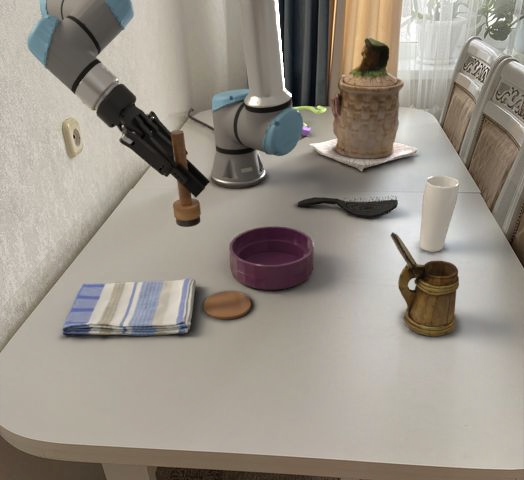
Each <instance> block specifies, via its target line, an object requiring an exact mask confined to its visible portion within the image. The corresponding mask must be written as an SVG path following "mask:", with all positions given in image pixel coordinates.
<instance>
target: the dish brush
mask: <svg viewBox="0 0 524 480" xmlns="http://www.w3.org/2000/svg"><path fill="white" fill-rule="evenodd" d="M170 132H171V139H172V147H173V154H174V161H175V162H176V163H177V166H178V165H179V164H180V163H181V164H182V165H183V166H184V167H185V168H186V169H187V170H188V165H187V159H188V158H187V156H188V155H186V151H187V149H186V141H185V132H184V130H181V129H175V130H171V131H170ZM176 183H177V191H178V197H179V198H178V199H177V200H175V201H173V203H172V209H173V210H172V211H173V216H174V219H175V223H176V225H177V226H179V227H182V228H191V227H194V226H197V225H199V224H200V223H201V220H202V219H201V214H202V213H201V212H202V211H201V203H200V200H199V199H197V198H195V197H192V194H191V193H190V192H189V191H188V190H187V189H186V188H185V187H184V186H183V185H182V184H181V183H180V182H179V181H178V180H177V179H176Z"/></svg>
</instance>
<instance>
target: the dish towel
mask: <svg viewBox="0 0 524 480" xmlns="http://www.w3.org/2000/svg"><path fill="white" fill-rule="evenodd" d="M196 284H197V283H196V279H194V278H183V279H175V280H147V281H146V280H145V281H139V282H138V281H135V282H133V281H131V282H130V281H128V282H127V281H124V282H123V281H122V282H121V281H119V282H113V283H83V284H81V287H80V289H79V291H78V292H77V295H76V296H75V299H74V300H73V301H74V302H73V304H72V306H71V309H70V311H69V313H68V315H67V317H66V320H65V323H64V324H63V327H62V335H63V336H69V337H71V336H85V335H96V336H98V335H99V336H108V335H117V336H119V335H120V336H121V335H122V336H125V335H126V336H139V337H140V336H141V337H143V336H146V337H147V336H160V335H177V334H179V335H181V334H187V333H188V332H189V330H191V325H192V322H191V321H192V318H193V317H192V316H193V310H194V301H195V291H196V286H197V285H196Z"/></svg>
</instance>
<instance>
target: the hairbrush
mask: <svg viewBox="0 0 524 480" xmlns="http://www.w3.org/2000/svg"><path fill="white" fill-rule="evenodd" d="M381 197H382V198H381ZM381 197H380V196H379V198H378V196H376V197H373V198H372V197H369V199H368V201H367V200H365V198H363V200H362V198H357V199H356V198H354V201H353V200H352V199H350V197H349V198H348V199H349V200H346V197H344V199H340V198H336V197H335V198H334V197H325V196H321V197H320V196H317V197H316V196H314V197H309V198H304V199H302V200H298V202H297V206H298V207H302V208H304V207H310V206H318V205H336V206H337V207H339V208H340V209H342V210H343V211H344V212H345V213H347V214H348V215H350V216H353V217H355V218H359V219H374V218H379V217H382V216H385V215H388V214H390V213H391V212H393V211H394V210H395V209H396V208H397V207H398V205H399V200H398V198H397V196H396V195H392V198H390V196H389V195H387V196H385V197H383V196H381ZM374 198H375V199H374ZM380 198H381V199H380ZM386 198H387V199H386ZM394 198H395V199H394ZM359 199H360V200H359ZM370 200H371V201H370Z"/></svg>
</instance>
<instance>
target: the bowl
mask: <svg viewBox="0 0 524 480" xmlns="http://www.w3.org/2000/svg"><path fill="white" fill-rule="evenodd" d="M228 252H229V263H230V272H231V274H232V277H233V278H234V279H235V280H236V281H238V282H239V283H241V284H243V285H245V286H248V287H250V288H253V289H256V290H262V291H263V290H264V291H279V290H285V289H291V288H292V287H295V286H297V285H300V284H301V283H303V282H305V281H307V280H308V279H309V278H310V277H311V276H312V273H313V271H314V261H315V259H314V258H315V243H314V241H313V239H312V238H311V237H310V235H308V234H307V233H305V232H303V231H301V230H298V229H295V228H292V227H286V226H279V225H278V226H261V227H255V228H252V229H247V230H244V231H243V232H241V233H239V234H237V235H236V236H234V237H233V239H232V240H231V241H230V243H229V249H228Z"/></svg>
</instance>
